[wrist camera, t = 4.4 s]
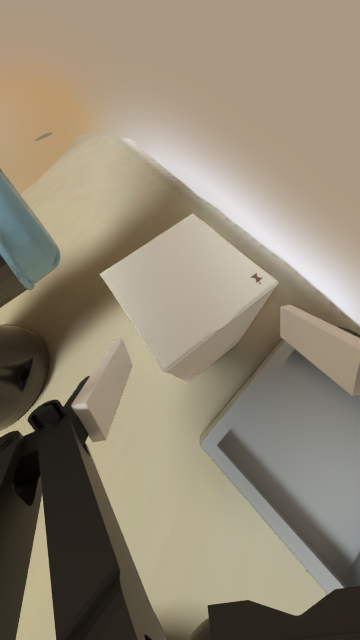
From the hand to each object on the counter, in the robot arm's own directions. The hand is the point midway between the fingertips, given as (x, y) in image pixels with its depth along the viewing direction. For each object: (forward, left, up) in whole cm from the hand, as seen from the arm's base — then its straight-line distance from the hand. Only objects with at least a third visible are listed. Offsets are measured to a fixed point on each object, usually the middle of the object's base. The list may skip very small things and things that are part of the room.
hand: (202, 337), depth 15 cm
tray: (+14, +1, -10) cm, 18 cm away
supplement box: (-3, +1, -10) cm, 11 cm away
